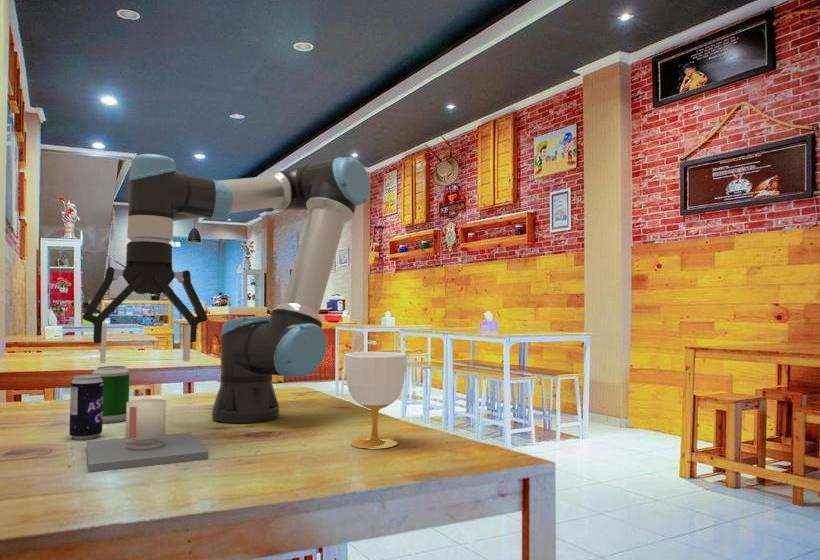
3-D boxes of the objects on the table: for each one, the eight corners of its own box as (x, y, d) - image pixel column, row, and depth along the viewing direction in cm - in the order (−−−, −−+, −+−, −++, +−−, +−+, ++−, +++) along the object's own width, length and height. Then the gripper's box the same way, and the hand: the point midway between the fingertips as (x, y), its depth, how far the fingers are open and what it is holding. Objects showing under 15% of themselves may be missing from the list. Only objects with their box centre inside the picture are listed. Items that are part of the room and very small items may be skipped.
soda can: (135, 419, 137) (136, 366, 138) (103, 425, 131) (104, 369, 132) (116, 416, 141) (117, 364, 142) (84, 421, 135) (85, 367, 136)
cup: (418, 444, 115) (418, 354, 116) (373, 454, 107) (374, 357, 107) (375, 434, 123) (376, 350, 124) (330, 444, 115) (331, 353, 115)
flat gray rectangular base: (190, 438, 119) (190, 424, 119) (207, 458, 103) (208, 442, 103) (86, 448, 110) (87, 433, 110) (88, 472, 94) (88, 454, 95)
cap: (162, 431, 111) (163, 398, 111) (167, 437, 106) (168, 403, 106) (124, 434, 108) (125, 400, 108) (126, 441, 102) (127, 405, 103)
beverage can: (88, 441, 116) (89, 378, 116) (62, 439, 117) (64, 377, 117) (108, 435, 121) (110, 374, 122) (83, 433, 122) (85, 374, 123)
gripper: (217, 248, 118) (214, 358, 116) (70, 239, 106) (64, 361, 104) (226, 244, 111) (222, 361, 110) (69, 234, 99) (64, 365, 98)
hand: (145, 361), depth 107 cm, fingers open, 13 cm apart
